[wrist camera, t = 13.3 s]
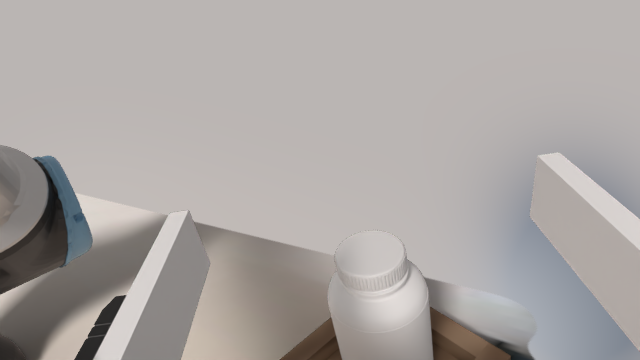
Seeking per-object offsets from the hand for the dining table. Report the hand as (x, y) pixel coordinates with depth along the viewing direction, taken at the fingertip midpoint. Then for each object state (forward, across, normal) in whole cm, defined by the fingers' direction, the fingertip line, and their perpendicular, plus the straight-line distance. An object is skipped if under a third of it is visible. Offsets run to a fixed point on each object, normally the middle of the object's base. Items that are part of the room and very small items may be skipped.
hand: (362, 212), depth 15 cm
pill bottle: (+10, +1, -26) cm, 28 cm away
